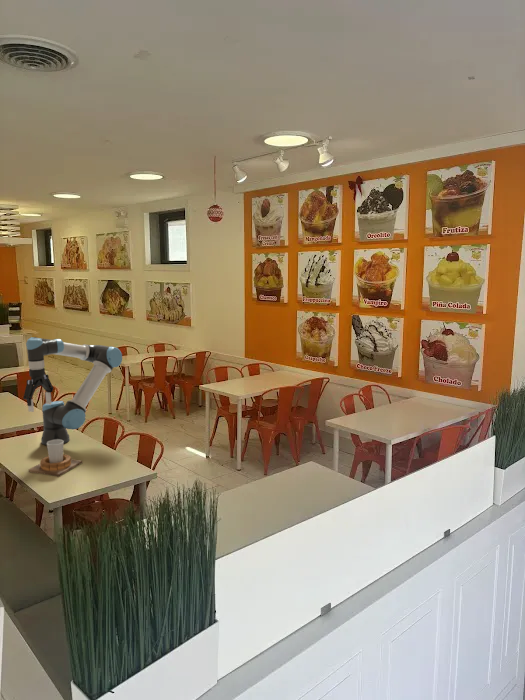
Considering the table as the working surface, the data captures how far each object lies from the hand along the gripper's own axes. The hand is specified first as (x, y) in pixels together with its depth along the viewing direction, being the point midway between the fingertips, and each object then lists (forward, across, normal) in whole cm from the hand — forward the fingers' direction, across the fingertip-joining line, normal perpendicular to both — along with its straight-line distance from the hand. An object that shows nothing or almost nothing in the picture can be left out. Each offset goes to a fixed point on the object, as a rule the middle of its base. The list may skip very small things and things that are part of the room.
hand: (40, 407), depth 278 cm
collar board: (+26, +12, +17) cm, 33 cm away
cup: (+25, +12, +17) cm, 33 cm away
